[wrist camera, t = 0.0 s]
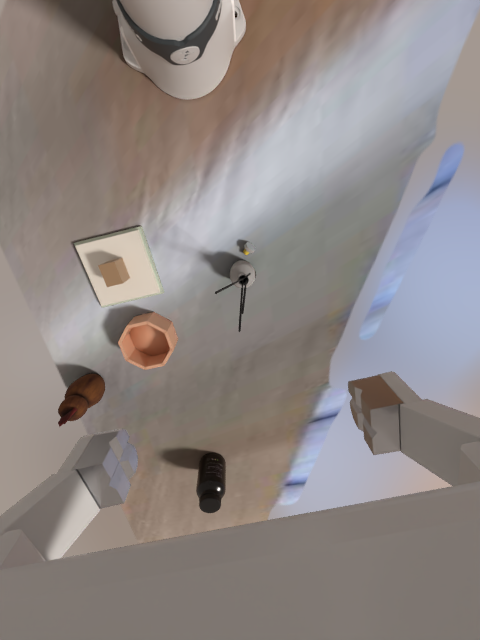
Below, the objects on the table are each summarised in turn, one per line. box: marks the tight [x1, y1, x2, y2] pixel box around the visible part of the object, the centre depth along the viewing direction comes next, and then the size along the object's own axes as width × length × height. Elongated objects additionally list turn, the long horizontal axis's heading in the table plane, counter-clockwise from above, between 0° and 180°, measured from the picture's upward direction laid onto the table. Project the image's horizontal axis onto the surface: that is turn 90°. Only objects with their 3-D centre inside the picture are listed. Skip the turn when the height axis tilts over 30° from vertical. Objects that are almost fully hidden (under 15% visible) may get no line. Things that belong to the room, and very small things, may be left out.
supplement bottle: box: [196, 453, 226, 513], centre depth 70 cm, size 7×7×12 cm
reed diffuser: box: [215, 242, 256, 332], centre depth 47 cm, size 10×7×20 cm
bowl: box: [118, 312, 178, 370], centre depth 59 cm, size 10×10×5 cm
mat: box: [74, 226, 164, 308], centre depth 56 cm, size 13×13×1 cm
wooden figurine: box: [58, 374, 105, 426], centre depth 58 cm, size 7×6×15 cm
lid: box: [76, 230, 160, 306], centre depth 53 cm, size 12×12×5 cm
